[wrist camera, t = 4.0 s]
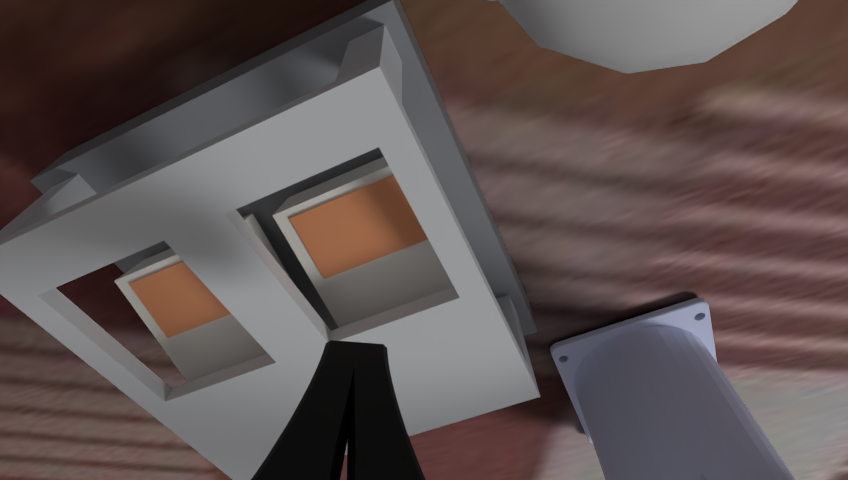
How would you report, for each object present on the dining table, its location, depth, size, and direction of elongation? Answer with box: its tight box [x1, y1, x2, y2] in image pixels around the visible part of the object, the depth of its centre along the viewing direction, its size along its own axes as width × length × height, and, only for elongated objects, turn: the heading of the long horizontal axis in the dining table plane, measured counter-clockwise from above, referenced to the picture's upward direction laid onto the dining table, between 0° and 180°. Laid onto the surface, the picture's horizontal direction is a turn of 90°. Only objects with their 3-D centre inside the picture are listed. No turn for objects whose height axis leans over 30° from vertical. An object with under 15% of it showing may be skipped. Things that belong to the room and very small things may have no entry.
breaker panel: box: [0, 0, 540, 480], centre depth 19 cm, size 15×14×7 cm
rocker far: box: [115, 213, 293, 382], centre depth 19 cm, size 7×5×2 cm
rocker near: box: [272, 157, 454, 328], centre depth 18 cm, size 7×5×2 cm
